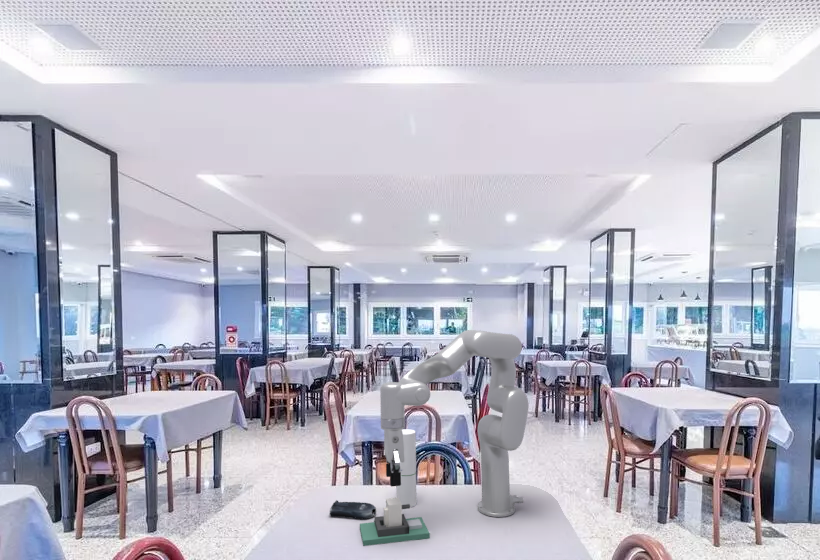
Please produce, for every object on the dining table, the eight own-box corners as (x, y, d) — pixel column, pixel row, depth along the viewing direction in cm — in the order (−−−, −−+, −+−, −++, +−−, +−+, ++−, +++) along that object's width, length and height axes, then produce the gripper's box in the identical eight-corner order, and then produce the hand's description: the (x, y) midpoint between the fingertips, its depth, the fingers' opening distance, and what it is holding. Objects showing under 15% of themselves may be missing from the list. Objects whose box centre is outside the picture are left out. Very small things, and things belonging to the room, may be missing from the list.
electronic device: (329, 524, 149) (373, 520, 147) (327, 506, 150) (371, 502, 148) (337, 516, 158) (379, 511, 156) (336, 499, 159) (377, 494, 157)
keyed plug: (407, 522, 143) (407, 496, 143) (411, 529, 138) (411, 502, 138) (383, 525, 141) (382, 499, 141) (385, 533, 136) (385, 505, 137)
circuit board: (421, 521, 146) (421, 510, 147) (429, 538, 136) (429, 526, 136) (359, 528, 142) (359, 517, 143) (363, 546, 132) (363, 533, 132)
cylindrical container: (404, 497, 166) (403, 428, 167) (420, 502, 161) (419, 431, 163) (392, 504, 160) (391, 432, 162) (408, 509, 156) (407, 435, 157)
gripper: (409, 428, 134) (410, 490, 132) (399, 416, 151) (400, 470, 149) (384, 430, 132) (385, 492, 131) (377, 417, 149) (377, 472, 148)
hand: (393, 480), depth 140 cm, fingers open, 7 cm apart
